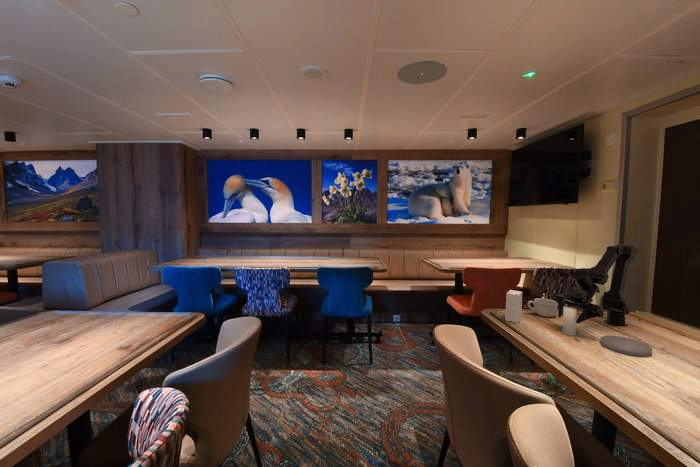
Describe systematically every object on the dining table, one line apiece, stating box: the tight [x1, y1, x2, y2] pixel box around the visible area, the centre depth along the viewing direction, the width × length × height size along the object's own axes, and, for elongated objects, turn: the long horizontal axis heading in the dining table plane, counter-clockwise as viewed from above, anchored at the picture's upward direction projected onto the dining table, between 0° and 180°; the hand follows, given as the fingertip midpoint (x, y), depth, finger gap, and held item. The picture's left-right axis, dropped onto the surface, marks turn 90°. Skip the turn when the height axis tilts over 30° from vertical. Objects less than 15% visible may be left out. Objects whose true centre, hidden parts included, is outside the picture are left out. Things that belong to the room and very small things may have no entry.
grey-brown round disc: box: [599, 335, 653, 358], centre depth 115 cm, size 15×15×2 cm
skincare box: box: [504, 289, 523, 324], centre depth 147 cm, size 8×6×15 cm
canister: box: [562, 305, 578, 337], centre depth 130 cm, size 5×5×12 cm
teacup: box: [526, 297, 559, 318], centre depth 154 cm, size 14×11×8 cm
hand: (567, 319), depth 129 cm, fingers open, 8 cm apart
